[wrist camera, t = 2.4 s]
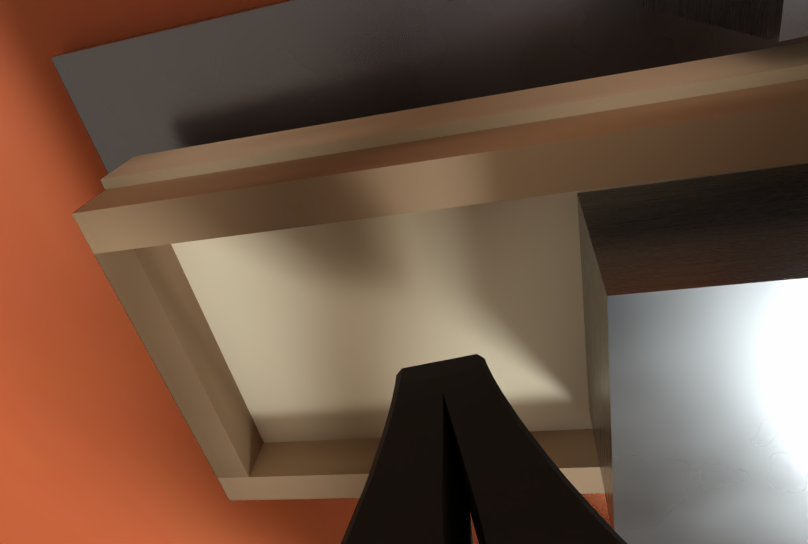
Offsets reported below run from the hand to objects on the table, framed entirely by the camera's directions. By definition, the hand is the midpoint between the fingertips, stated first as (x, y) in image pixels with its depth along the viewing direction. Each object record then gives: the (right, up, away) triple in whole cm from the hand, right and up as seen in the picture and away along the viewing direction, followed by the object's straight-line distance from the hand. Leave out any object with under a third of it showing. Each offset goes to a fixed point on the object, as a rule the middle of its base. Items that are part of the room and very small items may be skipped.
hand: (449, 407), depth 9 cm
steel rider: (+5, +2, +1) cm, 5 cm away
